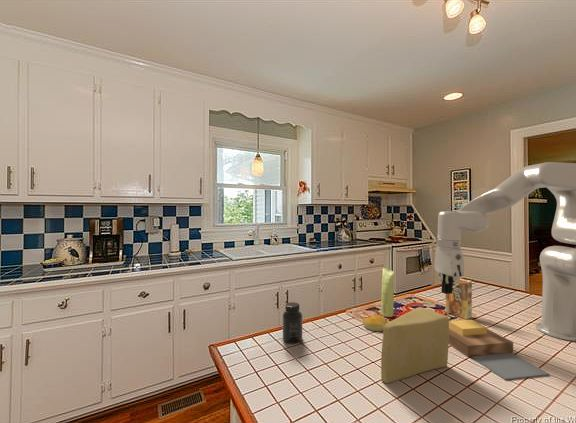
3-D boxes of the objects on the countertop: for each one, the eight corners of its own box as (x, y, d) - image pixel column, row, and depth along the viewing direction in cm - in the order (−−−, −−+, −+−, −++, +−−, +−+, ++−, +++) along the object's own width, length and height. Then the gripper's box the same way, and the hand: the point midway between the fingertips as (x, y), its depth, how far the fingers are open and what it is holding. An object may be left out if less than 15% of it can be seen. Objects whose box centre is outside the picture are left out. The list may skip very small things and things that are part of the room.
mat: (511, 354, 84) (511, 352, 84) (549, 375, 73) (549, 373, 73) (471, 357, 82) (471, 356, 82) (505, 380, 71) (505, 378, 71)
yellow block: (471, 325, 96) (471, 319, 96) (486, 333, 90) (486, 327, 90) (448, 327, 94) (449, 321, 94) (462, 335, 88) (462, 329, 88)
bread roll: (358, 325, 104) (358, 315, 104) (375, 320, 108) (375, 310, 108) (375, 334, 97) (375, 323, 97) (392, 328, 101) (392, 318, 101)
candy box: (472, 317, 111) (472, 280, 111) (467, 319, 109) (467, 282, 109) (449, 310, 119) (450, 276, 118) (444, 312, 116) (445, 277, 116)
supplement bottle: (305, 336, 95) (305, 302, 94) (297, 345, 88) (298, 309, 88) (287, 332, 97) (287, 299, 97) (279, 341, 91) (279, 306, 91)
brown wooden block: (475, 332, 98) (475, 322, 98) (512, 353, 84) (513, 342, 84) (435, 335, 96) (435, 325, 96) (467, 357, 82) (468, 345, 82)
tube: (396, 314, 114) (396, 268, 114) (393, 318, 110) (394, 271, 109) (382, 311, 117) (382, 267, 117) (379, 315, 113) (379, 269, 112)
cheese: (399, 394, 66) (400, 334, 65) (368, 373, 74) (369, 319, 74) (449, 367, 77) (450, 315, 77) (418, 351, 85) (418, 304, 85)
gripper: (474, 247, 93) (472, 299, 94) (443, 241, 108) (441, 286, 109) (455, 247, 92) (452, 300, 93) (426, 241, 107) (424, 287, 107)
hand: (446, 292), depth 101 cm, fingers closed
